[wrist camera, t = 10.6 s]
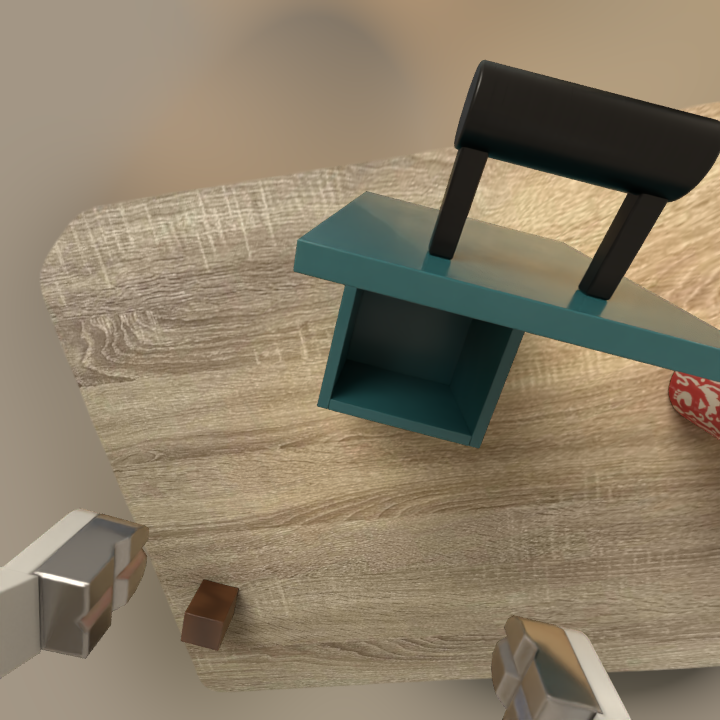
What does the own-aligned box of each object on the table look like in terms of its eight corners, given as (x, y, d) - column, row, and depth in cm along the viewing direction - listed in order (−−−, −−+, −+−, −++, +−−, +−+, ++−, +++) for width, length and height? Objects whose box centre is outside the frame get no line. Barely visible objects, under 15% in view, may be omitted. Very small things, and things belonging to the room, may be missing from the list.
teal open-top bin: (453, 392, 36) (479, 449, 26) (337, 362, 36) (316, 406, 26) (503, 249, 32) (557, 249, 22) (372, 215, 32) (364, 199, 22)
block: (199, 605, 46) (180, 641, 42) (203, 579, 45) (184, 612, 41) (233, 614, 46) (218, 651, 42) (238, 588, 45) (223, 623, 41)
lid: (757, 393, 9) (978, 152, 6) (292, 272, 9) (331, -14, 7) (557, 256, 22) (606, 156, 19) (362, 205, 22) (385, 99, 19)
